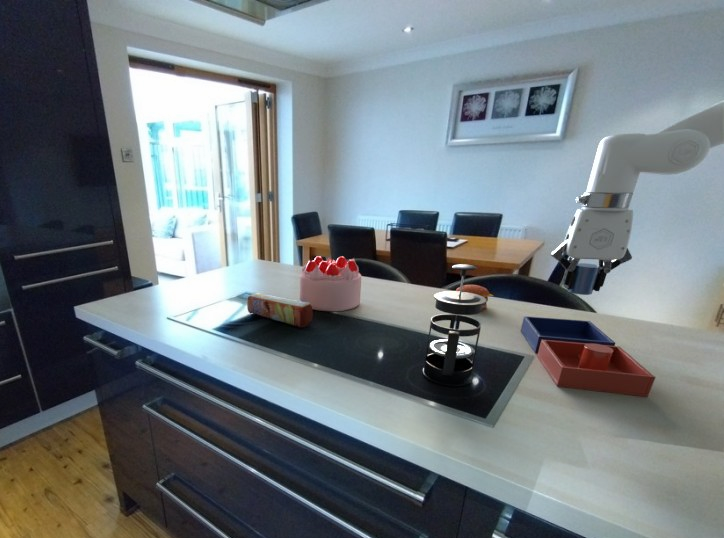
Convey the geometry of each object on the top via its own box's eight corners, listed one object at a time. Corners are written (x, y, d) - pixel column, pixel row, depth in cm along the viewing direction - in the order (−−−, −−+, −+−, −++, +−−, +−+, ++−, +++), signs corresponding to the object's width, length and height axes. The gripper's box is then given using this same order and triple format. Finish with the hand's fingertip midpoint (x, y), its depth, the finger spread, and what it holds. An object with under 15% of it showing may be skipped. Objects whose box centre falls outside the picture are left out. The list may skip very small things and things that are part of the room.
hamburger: (492, 306, 120) (497, 286, 117) (475, 313, 115) (479, 291, 113) (464, 299, 127) (467, 280, 125) (446, 305, 122) (449, 285, 120)
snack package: (245, 314, 119) (244, 293, 116) (260, 309, 123) (259, 288, 121) (300, 330, 106) (300, 307, 103) (314, 323, 110) (314, 301, 107)
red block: (607, 381, 75) (617, 353, 73) (580, 378, 76) (589, 351, 74) (590, 362, 83) (598, 336, 80) (566, 360, 84) (573, 334, 82)
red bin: (613, 363, 83) (619, 346, 82) (647, 397, 71) (655, 377, 69) (537, 356, 88) (541, 339, 86) (556, 386, 75) (562, 367, 74)
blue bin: (585, 336, 97) (589, 320, 96) (609, 360, 85) (615, 343, 83) (520, 330, 101) (523, 316, 100) (534, 352, 89) (539, 336, 88)
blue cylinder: (595, 295, 84) (604, 268, 82) (571, 294, 85) (579, 267, 83) (580, 285, 91) (588, 260, 89) (558, 284, 93) (565, 259, 90)
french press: (425, 361, 86) (439, 258, 77) (471, 369, 83) (492, 261, 74) (419, 386, 77) (434, 270, 68) (471, 395, 73) (495, 274, 64)
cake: (370, 300, 129) (374, 257, 123) (337, 316, 115) (339, 269, 110) (322, 291, 141) (322, 251, 135) (287, 304, 127) (286, 261, 122)
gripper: (563, 203, 79) (541, 290, 86) (668, 203, 73) (635, 296, 80) (552, 201, 85) (532, 282, 92) (647, 201, 80) (619, 287, 87)
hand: (580, 288), depth 86 cm, fingers closed on blue cylinder, 4 cm apart
